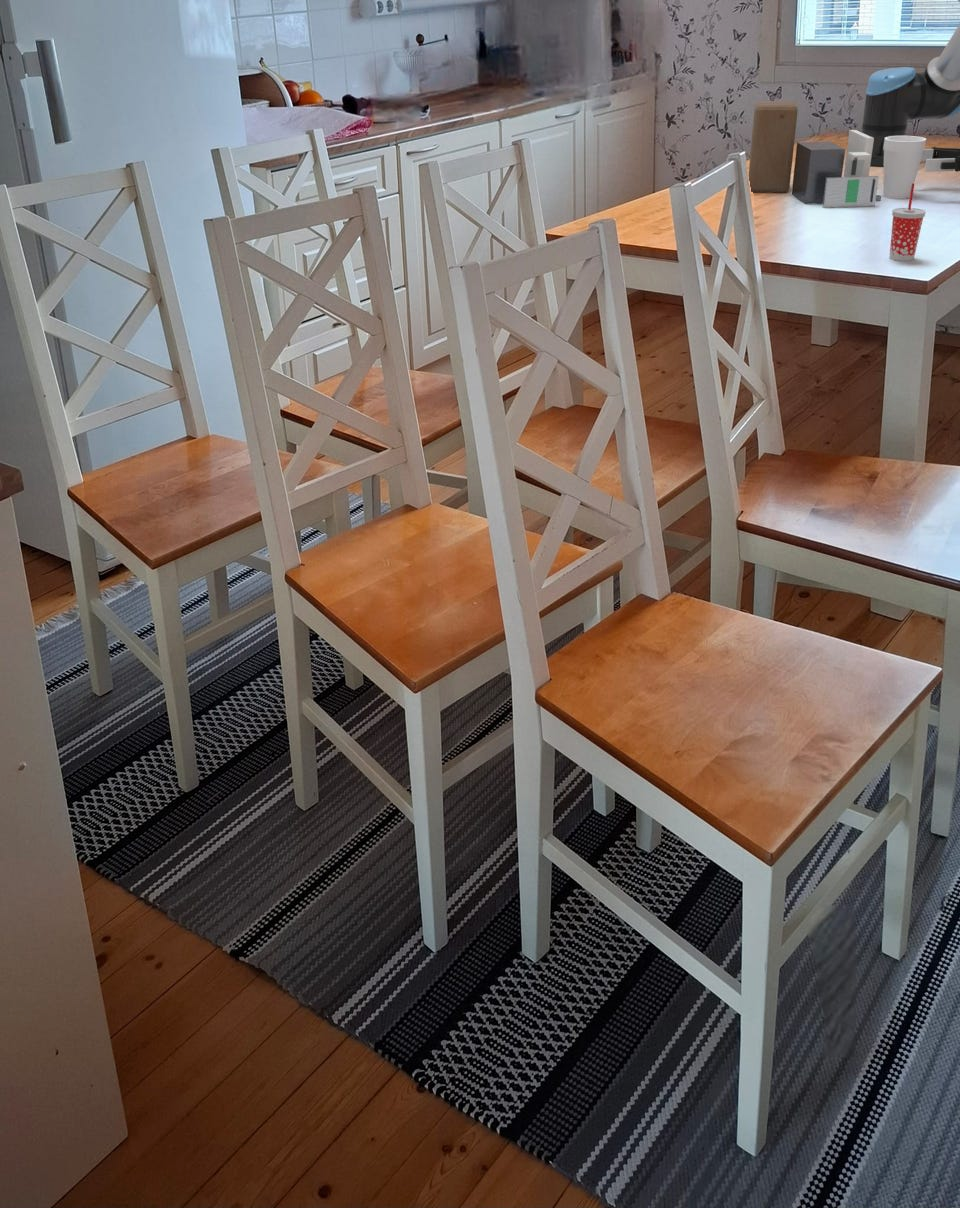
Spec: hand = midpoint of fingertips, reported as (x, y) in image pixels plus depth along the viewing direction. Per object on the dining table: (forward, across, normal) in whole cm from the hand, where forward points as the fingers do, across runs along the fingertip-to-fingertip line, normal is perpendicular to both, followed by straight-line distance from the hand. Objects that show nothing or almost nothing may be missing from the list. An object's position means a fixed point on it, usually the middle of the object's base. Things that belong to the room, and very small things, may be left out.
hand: (915, 160), depth 278 cm
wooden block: (+31, +13, -8) cm, 35 cm away
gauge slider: (+16, -2, -7) cm, 17 cm away
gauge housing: (+18, -2, -8) cm, 20 cm away
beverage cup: (+23, -60, -8) cm, 64 cm away
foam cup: (+3, 0, -8) cm, 9 cm away
